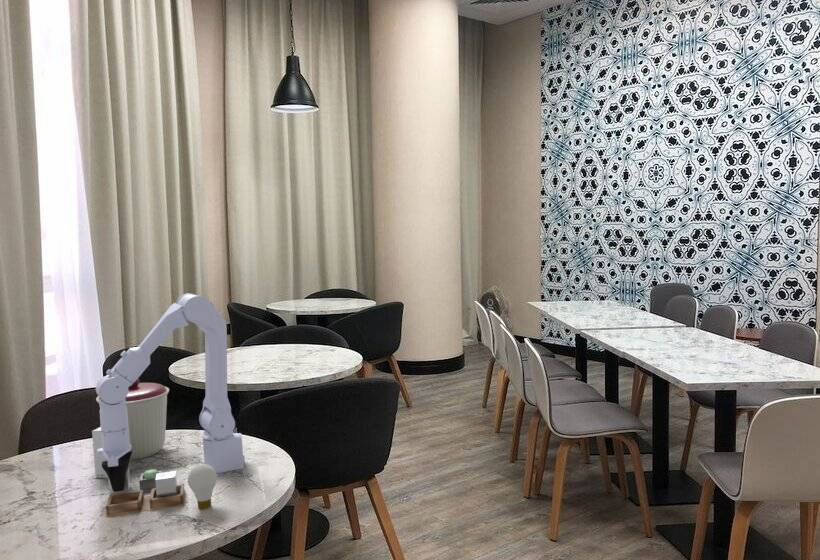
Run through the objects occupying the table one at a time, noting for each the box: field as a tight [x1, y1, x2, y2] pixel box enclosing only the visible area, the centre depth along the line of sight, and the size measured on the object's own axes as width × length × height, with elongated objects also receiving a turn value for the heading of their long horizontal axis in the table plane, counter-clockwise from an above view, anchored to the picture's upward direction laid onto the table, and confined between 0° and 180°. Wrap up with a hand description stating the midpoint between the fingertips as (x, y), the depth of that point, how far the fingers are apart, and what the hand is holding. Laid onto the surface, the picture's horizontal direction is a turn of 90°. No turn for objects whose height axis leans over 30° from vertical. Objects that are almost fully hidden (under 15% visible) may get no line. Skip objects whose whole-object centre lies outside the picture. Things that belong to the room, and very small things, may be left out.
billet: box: [107, 464, 132, 496], centre depth 154 cm, size 4×4×6 cm
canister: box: [95, 377, 170, 461], centre depth 181 cm, size 18×18×21 cm
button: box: [143, 468, 158, 479], centre depth 156 cm, size 3×3×4 cm
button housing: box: [138, 470, 163, 492], centre depth 156 cm, size 5×5×4 cm
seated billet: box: [155, 470, 178, 498], centre depth 147 cm, size 4×4×6 cm
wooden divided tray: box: [104, 483, 186, 518], centre depth 146 cm, size 16×8×3 cm, turn 107°
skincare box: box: [91, 426, 108, 479], centre depth 167 cm, size 6×4×12 cm
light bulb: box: [187, 463, 218, 510], centre depth 143 cm, size 6×6×10 cm
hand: (120, 487), depth 154 cm, fingers closed on billet, 4 cm apart
